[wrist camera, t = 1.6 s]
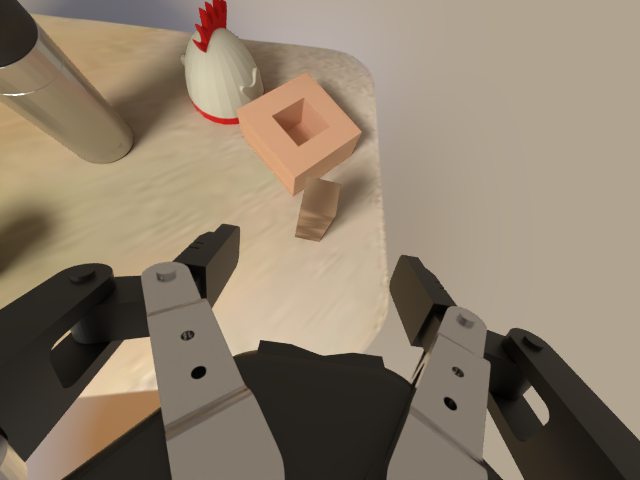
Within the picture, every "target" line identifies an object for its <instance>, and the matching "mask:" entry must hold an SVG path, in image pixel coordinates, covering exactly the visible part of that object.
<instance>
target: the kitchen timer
mask: <svg viewBox="0 0 640 480" xmlns="http://www.w3.org/2000/svg"><path fill="white" fill-rule="evenodd" d="M205 7H206V11H205V10H203V9H201V8H199V13H200V18H201V22H202V27H201V26H199V25H198V24H195V26H196V28H197V31H195V33H194V34H193V36H192V37H191V39H190V40H189V43H188V45H187V49H186V53H185V54H182V55H181V57H180V58H181V62H182V64H183V65H184V66H185V79H186V84H187V89H188V93H189V96H190V98H191V100H192V103H193V104H194V106H195V108H196V109H197V111H198V112H199V113H201V114H202V115H203V116H204V117H205V118H207V119H209V120H211V121H213V122H216V123H221V124H239V119H238V114H237V109H239V108H241V107H242V106H244V105H246V104H248V103H250V102H252V101H254V100H255V99H257V98H259V97H261V96H263V95H264V87H263V83H262V80H261V75H260V70H259V68H257V66H256V64H255V61H254V59H253V57H252V56H251V54H250V52H249V51H248V49H247V48H246V47H245V45H244V44H243V43H242V41H241V40H240V39H239V38H238V37H237V36H235V35H234V34H233V33H232V32H231V31H229V30H228V29H226V18H227V17H226V16H227V15H226V14H227V5H226V1H224V0H213V7H212V5H211V4H209V3H207V2H205ZM206 12H207V13H206Z"/></svg>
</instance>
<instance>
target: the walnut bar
mask: <svg viewBox="0 0 640 480" xmlns="http://www.w3.org/2000/svg"><path fill="white" fill-rule="evenodd" d="M340 185H341V184H338V183H334V182H330V181H325V180H321V179H317V178H312V177H308V176H307V179H306V184H305V189H304V194H303V199H302V204H301V209H300V214H299V219H298V224H297V229H296V234H295V237H298V238H303V239H308V240H313V241H318V242H319V241H320V239H321V238H322V236H323V235H324V233H325V232H326V230H327V228H328V227H329V225H330V224H331V222H332V221H333V219H334V218H335V216H336V211H337V205H338V198H339V192H340Z"/></svg>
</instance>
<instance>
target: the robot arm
mask: <svg viewBox="0 0 640 480" xmlns="http://www.w3.org/2000/svg"><path fill="white" fill-rule="evenodd" d="M0 101H1V102H3V103H4V104H6V105H7V106H8V107H10V108H11V109H13V110H14V111H16V112H17V113H18V114H20V115H21V116H23V117H24V118H26V119H27V120H28V121H30V122H31V123H33V124H34V125H35V126H37V127H38V128H40V129H41V130H43V131H44V132H45V133H47V134H48V135H50V136H51V137H53V138H54V139H55V140H57V141H58V142H60V143H61V144H62V145H64V146H65V147H67V148H68V149H69V150H71V151H72V152H74V153H75V154H77V155H78V156H79V157H81V158H82V159H84V160H86V161H88V162H92V163H99V164H102V163H110V162H113V161H116V160H118V159H120V158H122V157H123V156H125V155H126V154H127V153H128V152H129V150H130V149H131V147H132V144H133V139H134V137H133V132H132V130H131V128H130V127H129V126H128V125H127V124H126V123H125V121H124V120H123V119H122V118H121V117H120V116H119V115H118V113H117V112H116V111H115V110H114V109H113V108H112V107H111V105H110V104H109V103H108V102H107V101H106V100H105V99H104V98H103V96H102V95H101V94H100V93H99V92H98V91H97V90H96V89H95V87H94V86H93V85H92V84H91V83H90V82H89V81H88V80H87V78H86V77H85V76H84V75H83V74H82V73H81V72H80V70H79V69H78V68H77V67H76V66H75V65H74V64H73V63H72V61H71V60H70V59H69V58H68V57H67V56H66V55H65V54H64V52H63V51H62V50H61V49H60V48H59V47H58V46H57V45H56V44H55V43H54V41H53V40H52V39H51V38H50V37H49V36H48V35H47V34H46V32H45V31H44V30H43V29H42V28H41V27H40V26H39V25H38V23H37V22H36V21H35V20H34V19H33V18H32V17H31V15H30V14H29V13H28V12H27V11H26V10H25V9H24V8H23V7H22V6H21V4H20V3H19V2H18V1H17V0H0ZM239 244H240V227H239V226H234V225H228V224H222V225H221V226H220V227H219V228H218V229H217V230H216V231H215V232H207V233H205V234H202V235H200V236H199V237H198V238H197V239H196V240H195V241H194V242H193V243H191V244H190V245H189V247H187V248H186V249H185V250H184V251H183V252H182V253H181V254H180V255H179V256H178V257H177V258H176V259H175V260H174V261H172V262H164V263H159V264H155V265H153V266H151V267H149V268H147V269H146V270H145V271H144V272H143V273H142V275H141V276H124V277H114V274H113V270H112V268H111V267H110V266H108V265H105V264H99V263H90V264H82V265H77V266H74V267H70V268H67V269H65V270H63V271H61V272H59V273H57V274H56V275H54V276H53V277H51V278H49V279H48V280H46V281H45V282H43V283H42V284H40V285H38V286H37V287H35V288H34V289H32V290H31V291H29V292H27V293H26V294H24V295H23V296H21V297H20V298H18V299H16V300H15V301H13V302H12V303H10V304H9V305H7V306H5V307H4V308H2V309H1V310H0V480H27V474H28V471H27V466H26V464H25V461H26V460H27V459H28V458H29V457H30V455H31V454H32V453H33V452H34V451H35V449H36V448H37V447H38V446H39V444H40V443H41V442H42V441H43V439H44V438H45V437H46V436H47V434H48V433H49V432H50V431H51V429H52V428H53V427H54V426H55V424H56V423H57V422H58V421H59V420H60V418H61V417H62V416H63V415H64V414H65V412H66V411H67V410H68V409H69V407H70V406H71V405H72V404H73V402H74V401H75V400H76V399H77V397H78V396H79V395H80V394H81V393H82V391H83V390H84V389H85V388H86V386H87V385H88V384H89V383H90V381H91V380H92V379H93V378H94V376H95V375H96V374H97V373H98V372H99V370H100V369H101V368H102V367H103V365H104V364H105V363H106V362H107V360H108V359H109V358H110V357H111V356H112V354H113V353H114V352H115V351H116V349H117V348H118V347H119V346H120V344H121V343H122V342H123V341H124V340H126V339H134V338H142V337H150V340H151V346H152V353H153V359H154V365H155V372H156V378H157V384H158V391H159V397H160V403H161V407H160V408H158V409H157V410H156V411H154V412H153V413H152V414H150V415H149V416H148V417H146V418H145V419H143V420H142V421H141V422H140V423H138V424H137V425H135V426H134V427H132V428H131V429H130V430H128V431H127V432H126V433H124V434H123V435H122V436H120V437H119V438H117V439H116V440H115V441H113V442H112V443H111V444H109V445H108V446H107V447H105V448H104V449H103V450H101V451H100V452H98V453H97V454H96V455H94V456H93V457H92V458H90V459H89V460H87V461H86V462H85V463H83V464H82V465H81V466H79V467H78V468H76V469H75V470H74V471H72V472H71V473H70V474H68V475H67V476H66V477H64V478H63V479H61V480H503V479H502V478H501V477H500V476H499V475H498V474H497V473H496V472H495V471H494V470H493V469H492V468H491V467H490V466H489V464H488V463H487V462H486V461H485V460H484V459H483V458H482V453H483V442H484V431H485V421H486V409H488V411H489V412H490V415H491V417H492V418H493V420H494V422H495V424H496V426H497V428H498V430H499V432H500V434H501V436H502V438H503V440H504V441H505V443H506V445H507V447H508V449H509V451H510V453H511V455H512V457H513V459H514V461H515V463H516V465H517V466H518V468H519V470H520V472H521V474H522V476H523V478H524V480H640V441H639V440H638V439H637V437H636V436H635V435H634V434H633V433H632V432H631V431H630V430H629V429H628V428H627V427H626V426H625V425H624V424H623V423H622V422H621V421H620V420H619V418H618V417H617V416H616V415H615V414H614V413H613V412H612V411H611V410H610V409H609V408H608V407H607V406H606V405H605V404H604V403H603V402H602V400H601V399H600V398H598V396H597V395H596V394H595V393H594V392H593V391H592V390H591V389H590V388H589V387H588V386H587V385H586V384H585V383H584V382H583V380H582V379H581V378H580V377H579V376H578V375H577V374H576V373H575V372H574V371H573V370H572V369H571V368H570V367H569V366H568V365H567V363H565V361H564V360H563V359H562V358H561V357H560V356H559V355H558V354H557V353H556V352H555V351H554V350H553V349H552V348H551V347H550V346H549V345H548V344H547V343H546V342H545V341H543V340H542V339H541V338H539V337H538V336H536V335H534V334H532V333H530V332H528V331H526V330H523V329H519V328H513V329H511V330H510V331H509V332H508V334H507V335H506V336H503V335H500V334H497V333H495V332H492V331H489V330H487V327H486V325H485V323H484V322H483V321H482V320H481V319H480V318H479V317H478V316H477V315H475V314H474V313H472V312H471V311H469V310H467V309H464V308H461V307H457V305H456V304H455V303H454V301H453V300H452V298H451V297H450V296H449V294H448V293H447V291H446V290H444V287H443V286H442V285H441V284H440V282H439V280H438V279H437V278H436V276H435V275H434V274H433V273H431V272H430V271H429V270H428V269H426V268H425V267H424V266H423V264H422V263H421V261H420V260H419V258H418V257H412V256H407V255H401V257H400V258H399V260H398V263H397V265H396V268H395V270H394V273H393V275H392V278H391V280H390V293H391V295H392V298H393V301H394V303H395V306H396V308H397V311H398V314H399V316H400V319H401V321H402V324H403V326H404V329H405V331H406V333H407V336H408V339H409V342H410V344H411V346H416V347H423V349H424V351H423V353H422V355H421V357H420V359H419V361H418V364H417V365H416V368H415V370H414V372H413V374H412V376H411V379H410V381H409V382H408V381H407V380H406V379H404V378H403V377H402V376H400V375H398V374H397V373H395V372H393V371H391V370H389V369H387V368H385V367H384V363H383V359H382V357H381V356H373V355H366V354H359V353H346V354H336V355H327V356H322V355H318V354H316V353H313V352H310V351H308V350H305V349H302V348H300V347H297V346H295V345H292V344H286V343H278V342H271V341H264V340H260V344H259V347H258V350H254V351H249V352H244V353H241V354H238V355H235V356H233V357H232V355H231V352H230V350H229V348H228V345H227V343H226V341H225V339H224V336H223V334H222V332H221V329H220V327H219V325H218V323H217V320H216V318H215V316H214V313H213V311H212V307H213V306H214V304H215V302H216V301H217V299H218V297H219V295H220V294H221V292H222V290H223V289H224V287H225V285H226V283H227V282H228V280H229V278H230V277H231V275H232V273H233V271H234V270H235V268H236V266H237V263H238V259H239ZM69 330H71V333H70V334H69V335H68V336H67V337H65V338H64V339H63V340H62V341H61V342H60V343H59V344H58V345H57V346H56V347H55V348H54V349H52V347H53V346H54V344H55V343H56V342H57V341H58V340H59V339H60V338H61V337H62V336H63V335H64V334H65V333H66V332H67V331H69ZM51 349H52V350H51ZM531 386H533V387H534V389H535V390H536V392H537V393H538V394H539V396H540V397H541V398H542V400H543V401H544V402H545V404H546V406H547V408H548V410H549V421H548V423H547V424H545V425H544V426H543V425H542V423H541V422H540V420H539V419H538V417H537V416H536V414H535V413H534V411H533V410H532V408H531V407H530V405H529V404H528V402H527V401H526V400H525V398H524V397H523V394H524V393H525V392H526V391H527V390H528V389H529V388H530V387H531Z"/></svg>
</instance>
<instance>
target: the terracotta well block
mask: <svg viewBox="0 0 640 480" xmlns="http://www.w3.org/2000/svg"><path fill="white" fill-rule="evenodd" d="M237 114H238V119H239V123H240V127H241V131H242V135H243V138H244V139H245V140H246V142H247V143H248V144H249V145H250V146H251V148H252V149H253V150H254V151H255V152H256V153H257V155H258V156H259V157H260V158H261V159H262V161H263V162H264V163H265V164H266V165H267V166H268V168H269V169H270V170H271V171H272V172H273V173H274V175H275V176H276V177H277V178H278V179H279V181H280V182H281V183H282V184H283V185H284V186H285V188H286V189H287V190H288V191H289V192H290V194H291V195H292V196H294V195H296V194H297V193H298V192H300V191H301V190H303V189H304V188H305V184H306V179H307V176H308V177H312V178H317V179H318V178H319V177H321V176H322V175H324V174H325V173H327V172H328V171H329V170H331V169H332V168H334V167H335V166H336V165H338V164H339V163H341V162H342V161H343V160H345V159H346V158H348V157H349V156H350V155H351V154H352V152H353V150H354V148H355V146H356V144H357V141H358V139H359V137H360V135H361V133H362V131H361V130H360V129H359V128H358V127H357V126H356V125H355V124H354V123H353V122H352V120H351V119H350V118H349V117H348V116H347V115H346V114H345V113H344V112H343V111H342V109H341V108H340V107H339V106H338V105H337V104H336V103H335V102H334V101H333V100H332V98H331V97H330V96H329V95H328V94H327V93H326V92H325V91H324V90H323V89H322V87H321V86H320V85H319V84H318V83H317V82H316V81H315V80H314V79H313V78H312V76H311V75H310V74H309V73H308V72H305V73H303V74H302V75H300V76H298V77H296V78H294V79H292V80H291V81H289V82H287V83H285V84H283V85H281V86H279V87H278V88H276V89H274V90H272V91H270V92H268V93H266V94H265V95H263V96H261V97H259V98H257V99H255V100H254V101H252V102H250V103H248V104H246V105H244V106H242V107H241V108H239V109H237Z"/></svg>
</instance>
